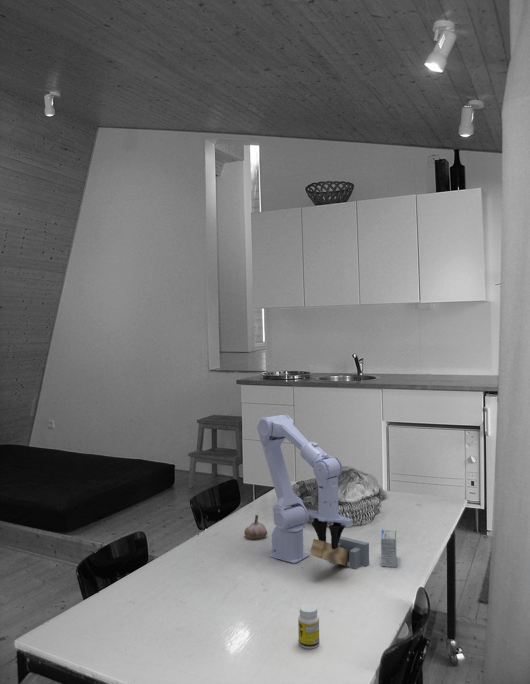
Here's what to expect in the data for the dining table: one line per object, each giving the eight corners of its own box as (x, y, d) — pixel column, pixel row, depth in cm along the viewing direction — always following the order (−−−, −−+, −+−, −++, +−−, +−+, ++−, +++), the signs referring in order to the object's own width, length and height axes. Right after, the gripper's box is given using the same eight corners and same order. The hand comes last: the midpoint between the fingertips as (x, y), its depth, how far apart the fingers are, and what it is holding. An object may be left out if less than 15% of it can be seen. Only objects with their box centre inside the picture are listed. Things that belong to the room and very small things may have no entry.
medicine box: (396, 568, 184) (396, 539, 184) (381, 567, 185) (380, 538, 185) (396, 557, 192) (396, 529, 192) (381, 556, 193) (381, 529, 193)
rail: (320, 557, 174) (324, 541, 175) (309, 554, 176) (313, 538, 177) (347, 566, 185) (350, 550, 187) (337, 563, 188) (340, 548, 189)
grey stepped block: (325, 560, 190) (324, 539, 190) (334, 555, 195) (334, 534, 194) (359, 570, 183) (359, 548, 183) (369, 564, 187) (368, 542, 187)
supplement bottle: (297, 638, 145) (296, 603, 145) (317, 637, 145) (317, 602, 145) (300, 650, 140) (299, 613, 140) (321, 648, 141) (320, 612, 140)
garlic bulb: (271, 536, 213) (270, 513, 212) (259, 543, 207) (259, 519, 206) (252, 532, 217) (252, 509, 216) (240, 539, 211) (240, 515, 210)
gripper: (299, 499, 181) (300, 545, 182) (342, 508, 172) (343, 556, 173) (313, 493, 187) (313, 538, 188) (355, 501, 178) (356, 548, 179)
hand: (328, 546), depth 181 cm, fingers closed on rail, 3 cm apart
